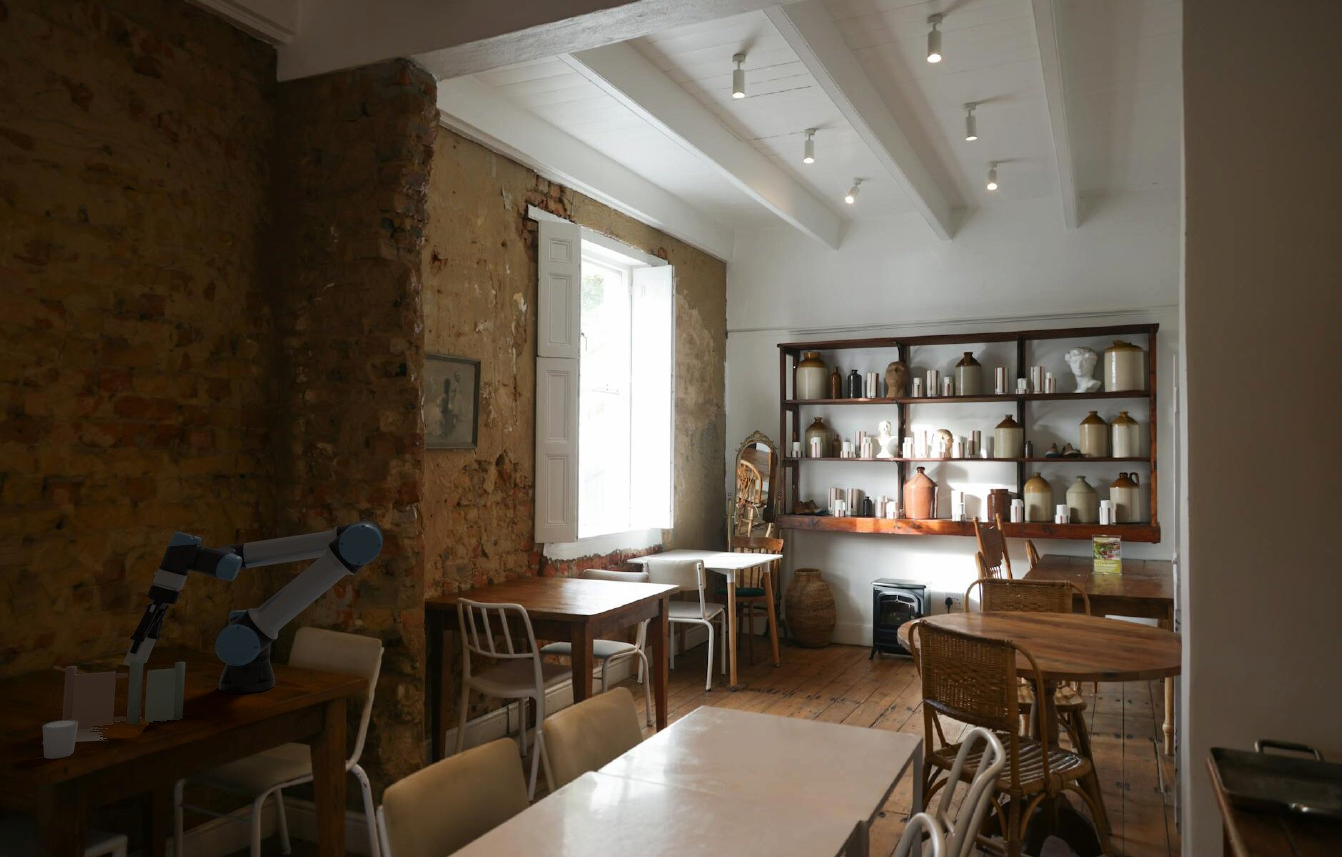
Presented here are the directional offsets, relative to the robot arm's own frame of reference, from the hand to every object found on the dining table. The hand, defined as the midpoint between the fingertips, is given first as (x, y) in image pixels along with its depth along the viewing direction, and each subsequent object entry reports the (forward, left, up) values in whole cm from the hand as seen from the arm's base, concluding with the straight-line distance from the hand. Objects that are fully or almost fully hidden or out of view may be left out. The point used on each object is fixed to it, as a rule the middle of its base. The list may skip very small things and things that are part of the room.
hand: (134, 663), depth 240 cm
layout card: (+2, +20, -12) cm, 23 cm away
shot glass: (+6, +37, -12) cm, 39 cm away
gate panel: (+4, +17, -11) cm, 21 cm away
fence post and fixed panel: (-9, +15, -12) cm, 21 cm away
